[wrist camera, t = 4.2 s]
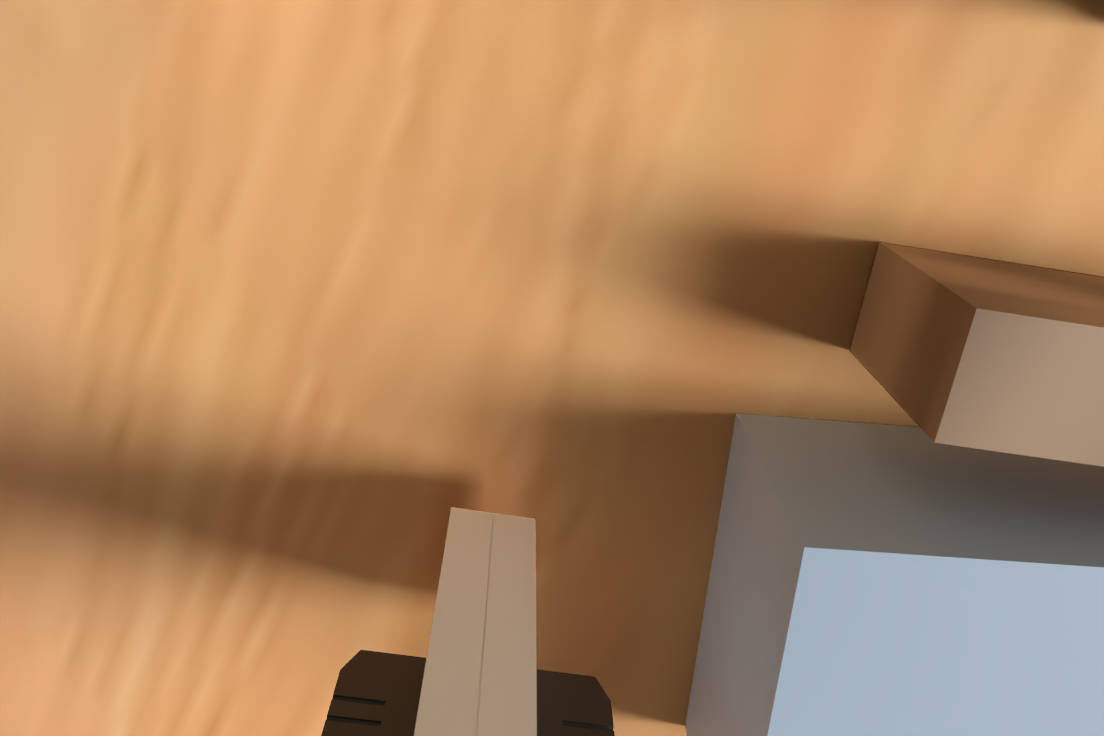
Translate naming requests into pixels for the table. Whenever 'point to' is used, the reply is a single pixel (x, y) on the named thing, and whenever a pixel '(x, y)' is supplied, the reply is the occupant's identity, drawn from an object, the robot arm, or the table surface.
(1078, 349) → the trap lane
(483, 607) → the robot arm
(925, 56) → the table surface
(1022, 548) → the block
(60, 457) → the table surface
